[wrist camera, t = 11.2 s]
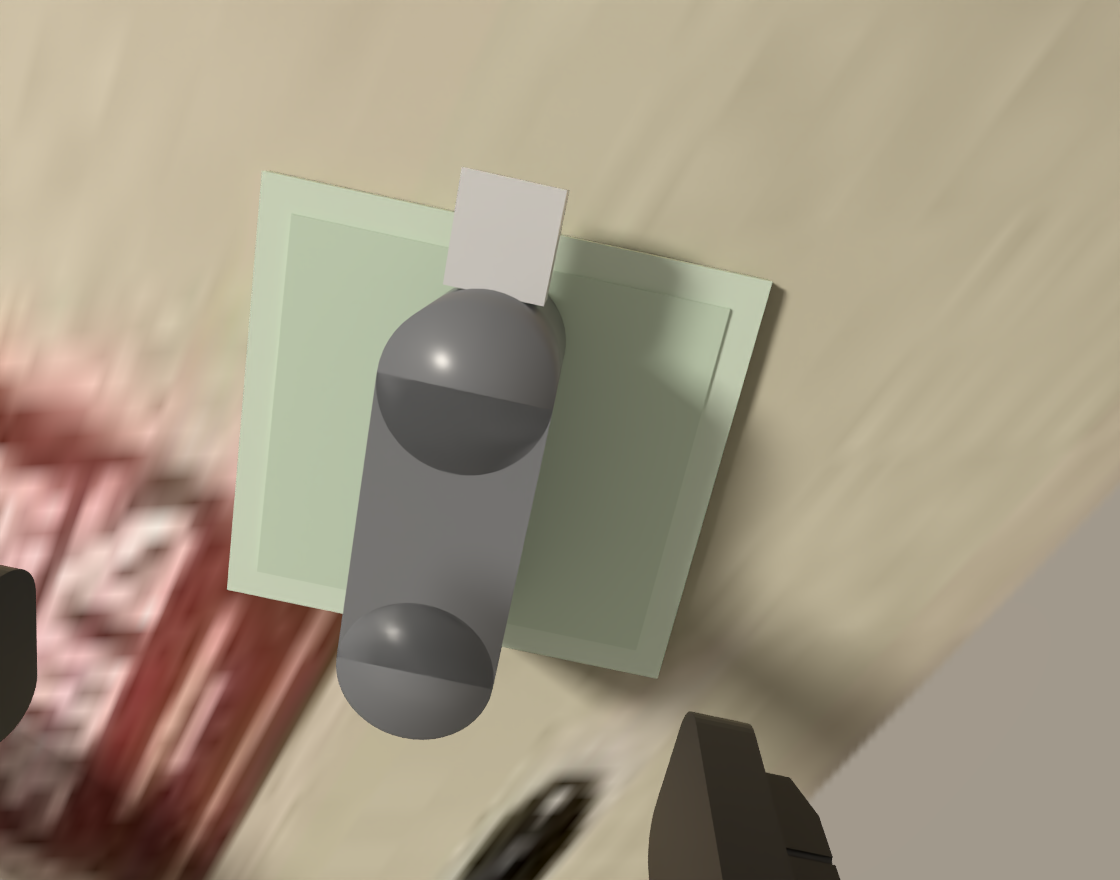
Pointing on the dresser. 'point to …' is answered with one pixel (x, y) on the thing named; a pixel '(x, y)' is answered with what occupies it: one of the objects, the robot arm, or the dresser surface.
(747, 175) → the dresser surface
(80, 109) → the dresser surface
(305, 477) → the mat
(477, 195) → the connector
